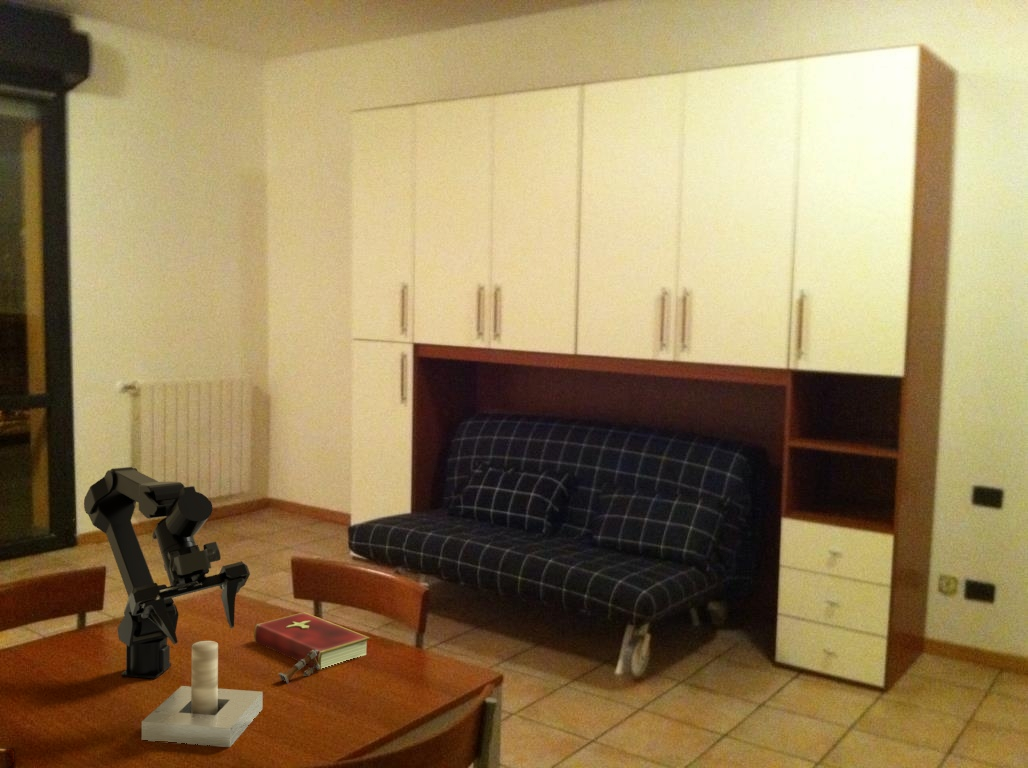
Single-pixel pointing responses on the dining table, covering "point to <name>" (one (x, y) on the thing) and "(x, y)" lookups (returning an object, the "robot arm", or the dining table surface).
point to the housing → (202, 718)
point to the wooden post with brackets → (300, 664)
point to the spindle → (204, 678)
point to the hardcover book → (311, 639)
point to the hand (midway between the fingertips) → (204, 635)
